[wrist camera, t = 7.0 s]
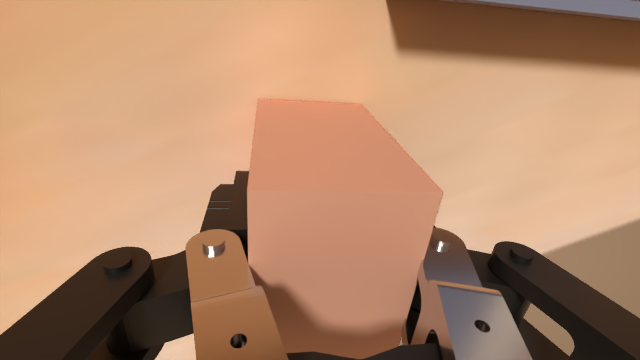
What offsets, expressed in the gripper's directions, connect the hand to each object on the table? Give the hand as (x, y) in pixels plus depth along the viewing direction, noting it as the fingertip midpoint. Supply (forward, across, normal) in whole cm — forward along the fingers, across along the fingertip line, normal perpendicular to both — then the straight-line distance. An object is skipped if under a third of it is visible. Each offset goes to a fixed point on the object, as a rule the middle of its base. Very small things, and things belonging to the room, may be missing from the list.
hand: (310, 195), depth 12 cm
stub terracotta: (+2, 0, 0) cm, 2 cm away
